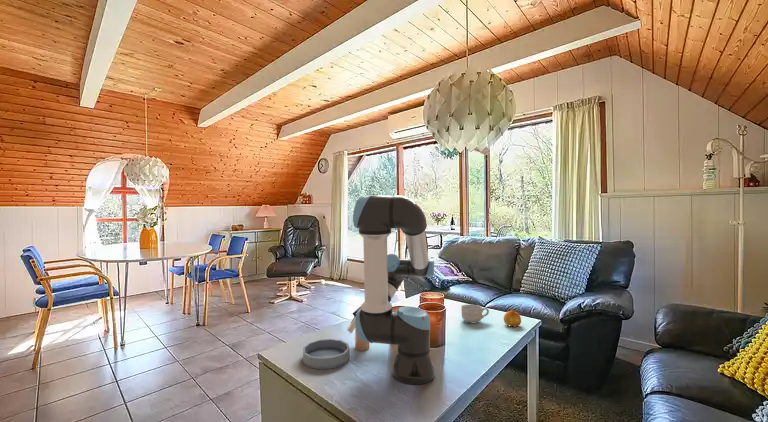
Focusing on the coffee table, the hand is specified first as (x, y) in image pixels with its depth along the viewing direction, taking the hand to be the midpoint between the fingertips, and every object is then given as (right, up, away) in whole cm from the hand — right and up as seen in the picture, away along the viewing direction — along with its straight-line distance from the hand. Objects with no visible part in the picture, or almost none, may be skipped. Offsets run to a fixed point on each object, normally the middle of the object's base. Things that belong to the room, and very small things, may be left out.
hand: (358, 336), depth 147 cm
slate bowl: (-12, -6, -9) cm, 16 cm away
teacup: (+58, -5, +34) cm, 68 cm away
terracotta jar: (+1, -5, +1) cm, 6 cm away
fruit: (+76, -5, +29) cm, 81 cm away
